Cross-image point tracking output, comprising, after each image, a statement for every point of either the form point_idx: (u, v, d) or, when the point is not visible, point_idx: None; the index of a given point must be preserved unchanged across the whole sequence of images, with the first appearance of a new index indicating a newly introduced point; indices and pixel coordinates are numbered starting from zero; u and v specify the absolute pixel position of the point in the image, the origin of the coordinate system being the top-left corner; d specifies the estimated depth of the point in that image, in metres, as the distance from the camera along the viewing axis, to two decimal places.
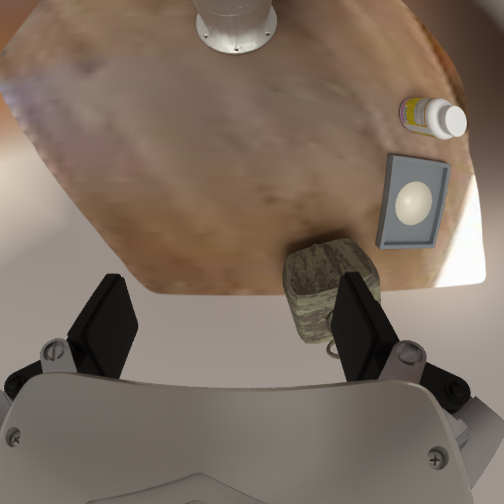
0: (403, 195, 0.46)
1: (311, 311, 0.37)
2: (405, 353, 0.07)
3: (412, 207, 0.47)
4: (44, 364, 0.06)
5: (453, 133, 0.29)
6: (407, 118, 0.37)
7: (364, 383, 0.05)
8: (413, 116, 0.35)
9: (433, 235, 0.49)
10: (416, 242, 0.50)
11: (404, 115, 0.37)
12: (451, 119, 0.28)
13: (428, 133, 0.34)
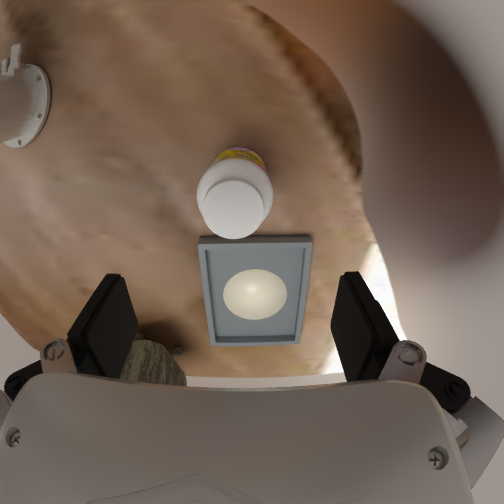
0: (234, 288, 0.39)
1: None
2: (405, 353, 0.07)
3: (252, 299, 0.40)
4: (44, 364, 0.06)
5: (225, 235, 0.21)
6: None
7: (364, 383, 0.05)
8: None
9: (295, 330, 0.42)
10: (270, 337, 0.43)
11: None
12: (218, 211, 0.21)
13: None
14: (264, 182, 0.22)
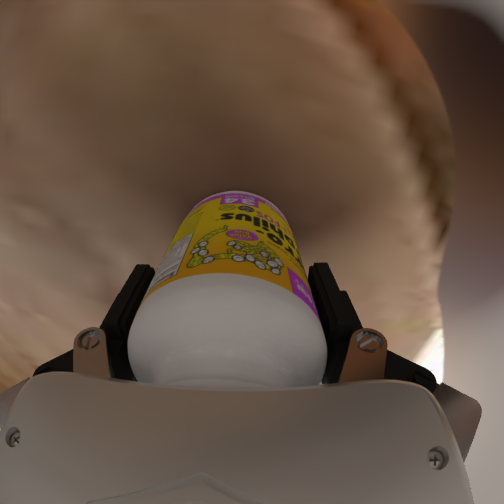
0: None
1: None
2: (364, 341, 0.08)
3: None
4: (79, 353, 0.07)
5: None
6: None
7: (364, 383, 0.05)
8: None
9: None
10: None
11: None
12: None
13: None
14: (313, 352, 0.07)
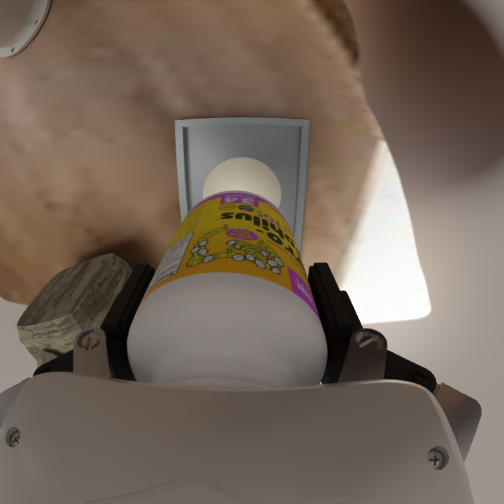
0: (217, 183, 0.31)
1: (26, 346, 0.21)
2: (364, 341, 0.08)
3: None
4: (80, 353, 0.07)
5: None
6: None
7: (364, 383, 0.05)
8: None
9: None
10: None
11: None
12: None
13: None
14: (313, 351, 0.07)
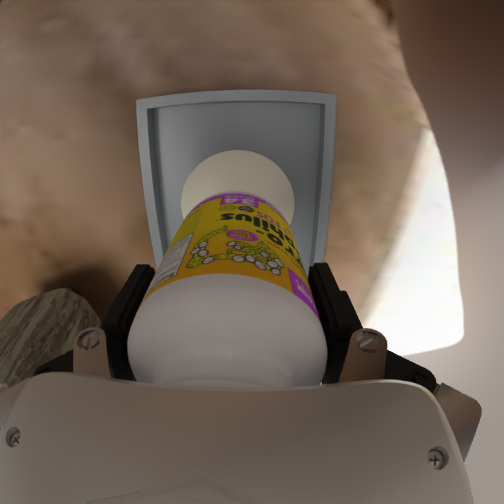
0: (200, 190, 0.21)
1: None
2: (364, 341, 0.08)
3: None
4: (79, 353, 0.07)
5: None
6: None
7: (364, 383, 0.05)
8: None
9: None
10: None
11: None
12: None
13: None
14: (313, 352, 0.07)
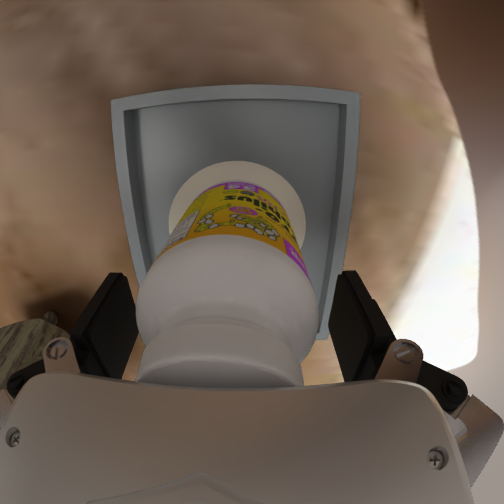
0: None
1: None
2: (401, 352, 0.07)
3: None
4: (47, 363, 0.06)
5: None
6: None
7: (364, 383, 0.05)
8: None
9: (321, 311, 0.20)
10: None
11: None
12: None
13: None
14: (305, 307, 0.08)
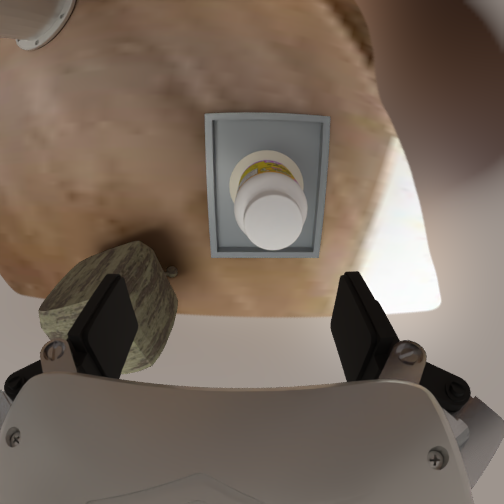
0: None
1: (48, 332, 0.23)
2: (405, 353, 0.07)
3: None
4: (44, 364, 0.06)
5: (264, 246, 0.23)
6: None
7: (364, 383, 0.05)
8: None
9: (314, 237, 0.35)
10: (283, 248, 0.37)
11: None
12: (259, 222, 0.22)
13: None
14: (301, 197, 0.23)
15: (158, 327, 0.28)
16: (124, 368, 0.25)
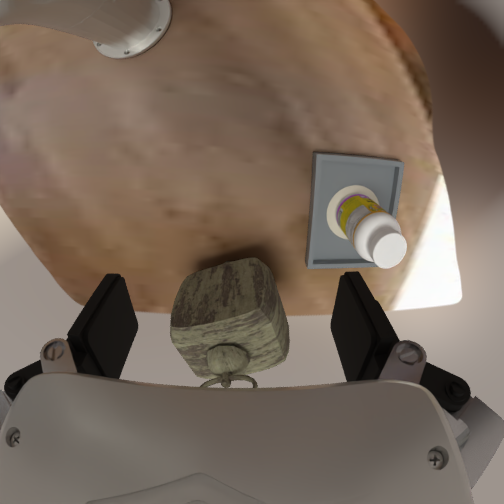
0: (338, 203, 0.40)
1: (186, 346, 0.31)
2: (405, 353, 0.07)
3: None
4: (44, 364, 0.06)
5: (382, 265, 0.30)
6: (340, 224, 0.39)
7: (364, 383, 0.05)
8: (345, 228, 0.36)
9: None
10: (360, 260, 0.45)
11: (339, 220, 0.39)
12: (382, 251, 0.29)
13: None
14: (400, 231, 0.31)
15: (286, 328, 0.35)
16: (261, 366, 0.33)
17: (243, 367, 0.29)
